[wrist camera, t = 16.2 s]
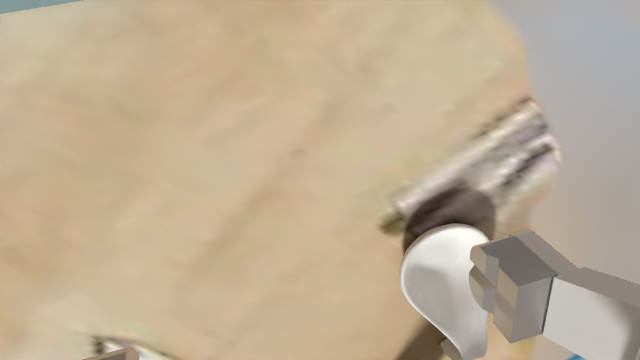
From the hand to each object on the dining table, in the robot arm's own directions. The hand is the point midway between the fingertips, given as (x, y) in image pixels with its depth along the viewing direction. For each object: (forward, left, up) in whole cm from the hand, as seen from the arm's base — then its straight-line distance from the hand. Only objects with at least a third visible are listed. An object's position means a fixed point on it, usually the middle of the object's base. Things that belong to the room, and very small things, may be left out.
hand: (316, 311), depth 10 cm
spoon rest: (+20, -35, -31) cm, 51 cm away
